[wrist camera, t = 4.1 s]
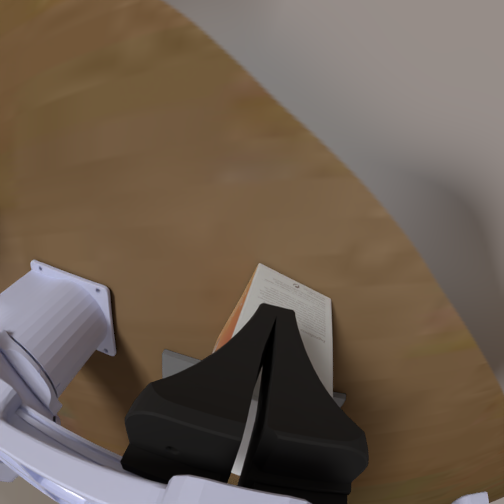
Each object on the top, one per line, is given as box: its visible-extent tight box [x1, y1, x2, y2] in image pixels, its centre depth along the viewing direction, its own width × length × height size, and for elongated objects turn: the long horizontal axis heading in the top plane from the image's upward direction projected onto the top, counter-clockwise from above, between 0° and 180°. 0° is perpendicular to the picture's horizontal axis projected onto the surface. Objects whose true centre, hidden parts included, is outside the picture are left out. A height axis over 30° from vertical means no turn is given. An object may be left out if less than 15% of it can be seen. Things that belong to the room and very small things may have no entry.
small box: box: [212, 263, 333, 476], centre depth 18 cm, size 8×6×10 cm
